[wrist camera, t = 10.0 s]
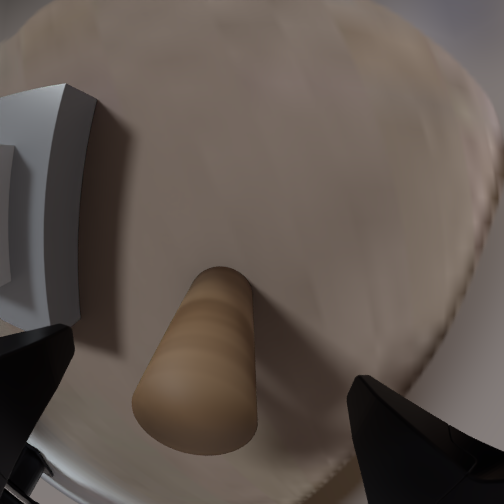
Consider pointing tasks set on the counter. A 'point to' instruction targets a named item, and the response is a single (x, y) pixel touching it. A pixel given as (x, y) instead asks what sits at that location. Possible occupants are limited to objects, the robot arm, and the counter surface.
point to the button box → (41, 203)
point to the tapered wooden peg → (204, 370)
